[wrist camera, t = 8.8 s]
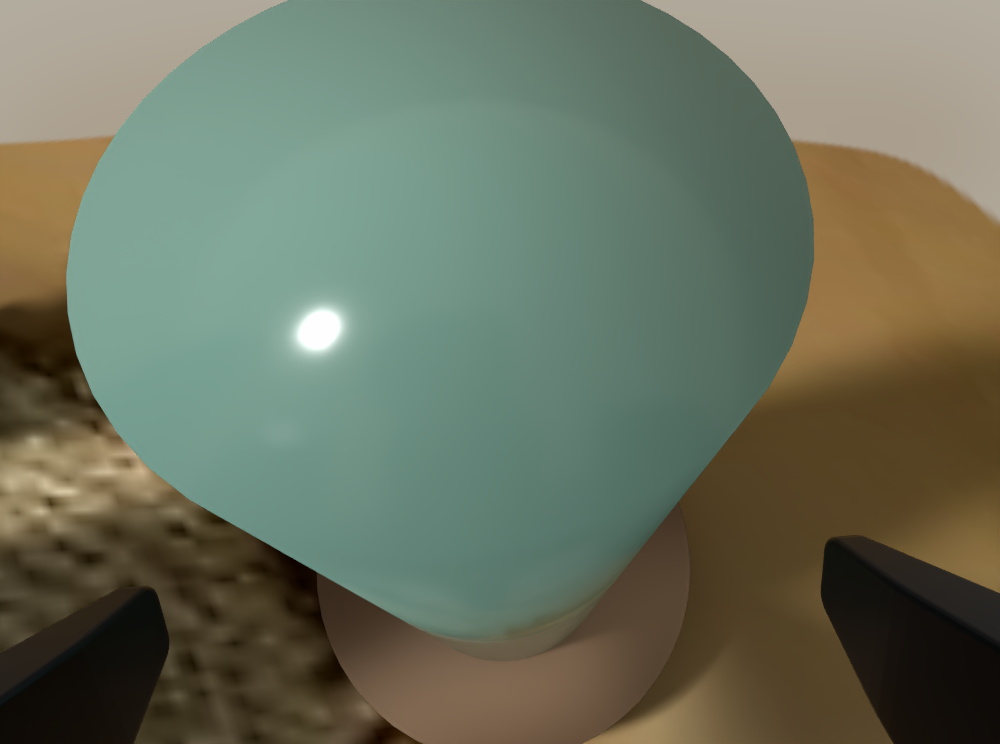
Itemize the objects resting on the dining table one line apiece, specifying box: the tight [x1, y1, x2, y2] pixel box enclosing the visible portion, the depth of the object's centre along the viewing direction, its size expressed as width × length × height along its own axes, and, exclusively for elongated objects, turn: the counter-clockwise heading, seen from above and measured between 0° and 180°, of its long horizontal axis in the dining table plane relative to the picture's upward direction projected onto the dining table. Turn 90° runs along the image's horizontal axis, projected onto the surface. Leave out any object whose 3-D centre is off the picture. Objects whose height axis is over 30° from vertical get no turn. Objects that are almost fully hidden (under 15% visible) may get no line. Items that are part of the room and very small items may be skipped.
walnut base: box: [317, 502, 690, 744], centre depth 16 cm, size 9×9×2 cm
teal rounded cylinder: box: [66, 0, 814, 662], centre depth 10 cm, size 5×5×12 cm
